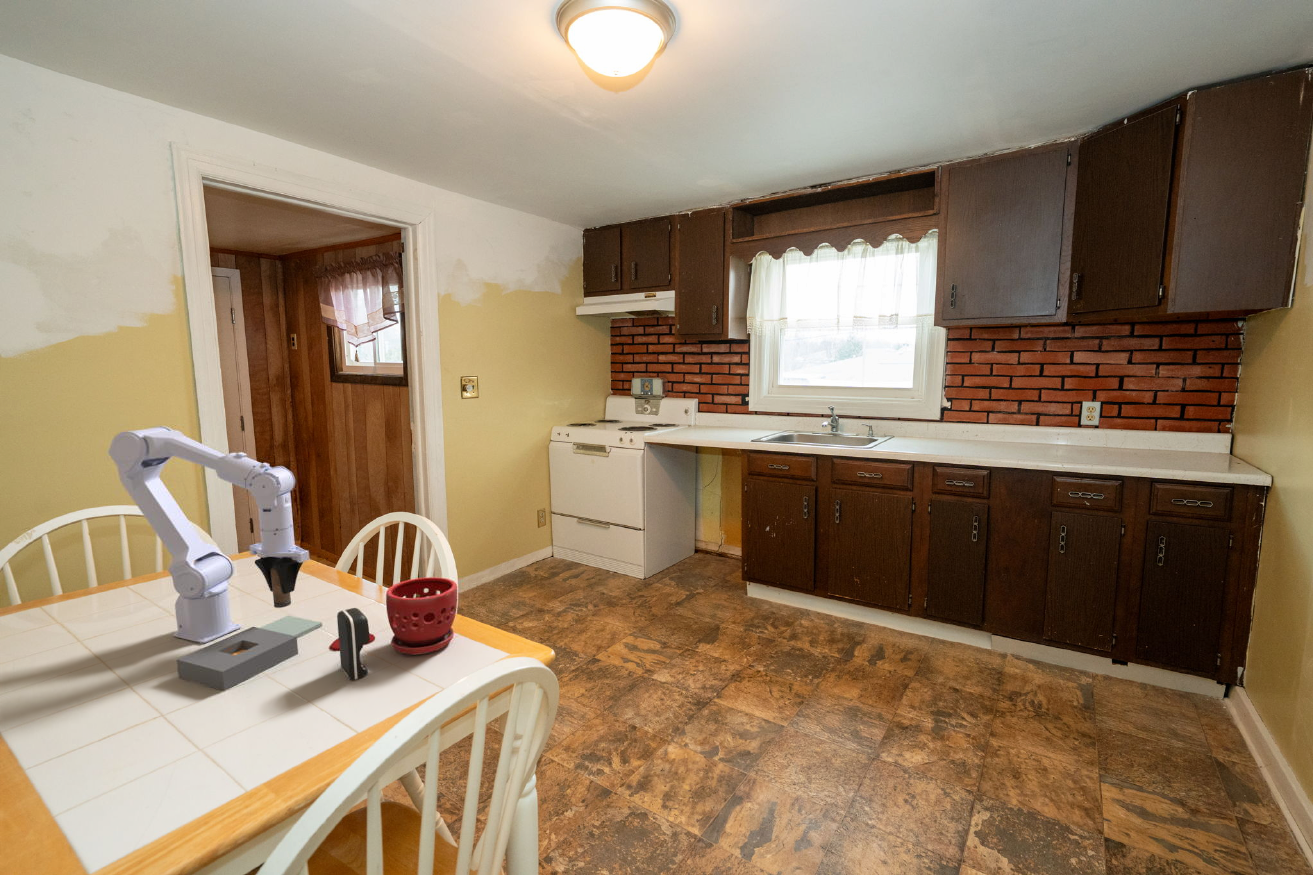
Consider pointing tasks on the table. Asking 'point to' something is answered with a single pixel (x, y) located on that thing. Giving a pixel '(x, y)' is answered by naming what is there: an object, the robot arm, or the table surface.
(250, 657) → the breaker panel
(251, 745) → the table surface
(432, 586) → the plant pot
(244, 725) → the table surface
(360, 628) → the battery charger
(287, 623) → the pad
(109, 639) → the table surface
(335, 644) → the lollipop
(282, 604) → the brown cylinder
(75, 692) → the table surface
